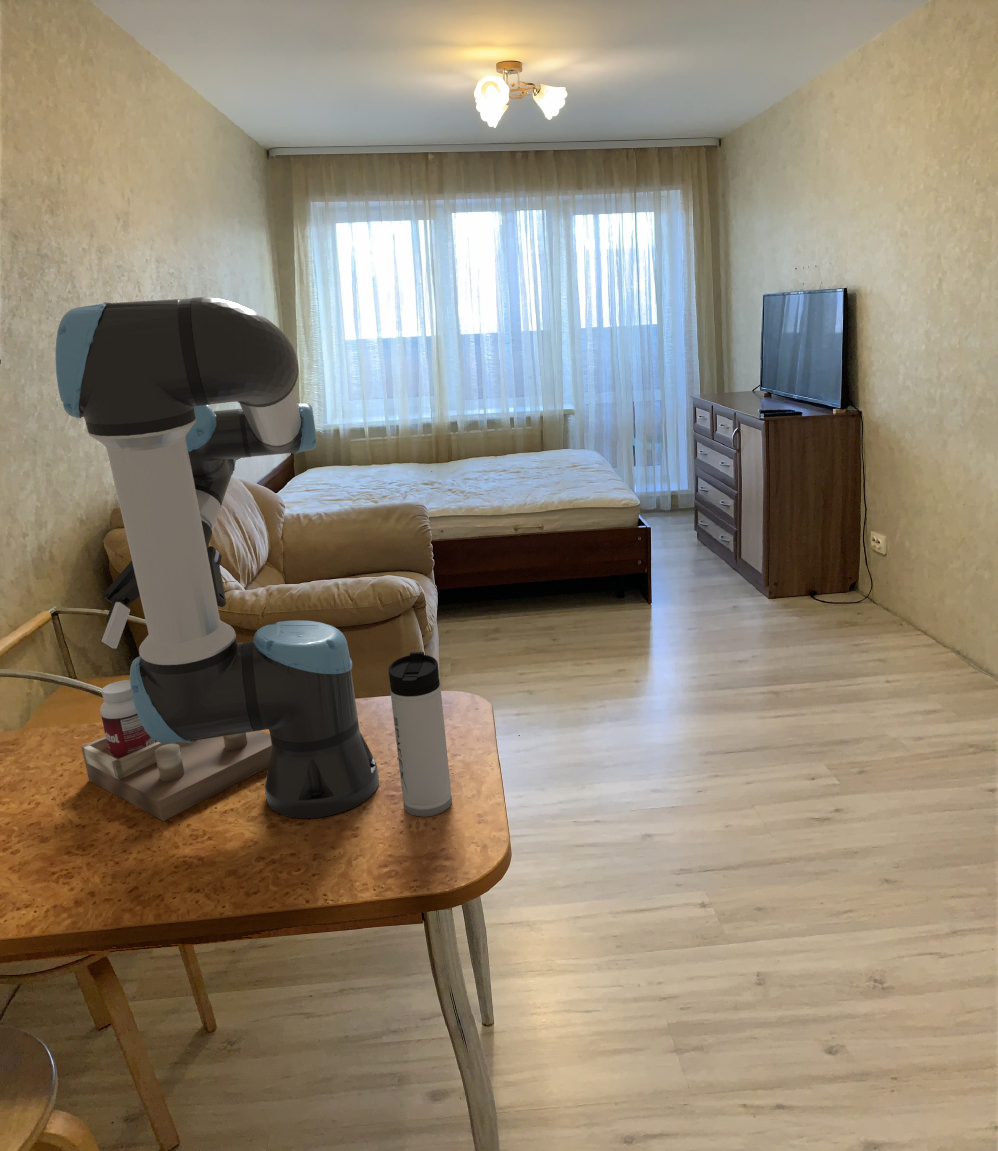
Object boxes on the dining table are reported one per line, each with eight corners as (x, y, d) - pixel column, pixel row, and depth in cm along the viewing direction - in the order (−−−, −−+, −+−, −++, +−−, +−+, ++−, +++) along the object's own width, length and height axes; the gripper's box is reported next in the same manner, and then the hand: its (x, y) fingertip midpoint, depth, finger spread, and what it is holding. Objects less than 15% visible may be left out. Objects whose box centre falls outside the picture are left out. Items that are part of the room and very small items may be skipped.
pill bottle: (105, 756, 129) (89, 686, 125) (148, 741, 132) (134, 673, 129) (118, 771, 124) (103, 699, 121) (162, 755, 128) (148, 685, 124)
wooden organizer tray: (286, 757, 131) (279, 714, 129) (163, 821, 116) (153, 773, 114) (208, 726, 143) (201, 686, 141) (88, 780, 128) (79, 736, 126)
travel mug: (455, 790, 118) (441, 650, 112) (448, 817, 112) (433, 670, 106) (409, 791, 119) (393, 652, 113) (399, 818, 112) (382, 672, 107)
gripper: (270, 535, 141) (233, 659, 131) (137, 535, 147) (93, 653, 138) (247, 510, 134) (207, 638, 125) (109, 512, 141) (61, 633, 132)
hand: (147, 646), depth 131 cm, fingers open, 13 cm apart
